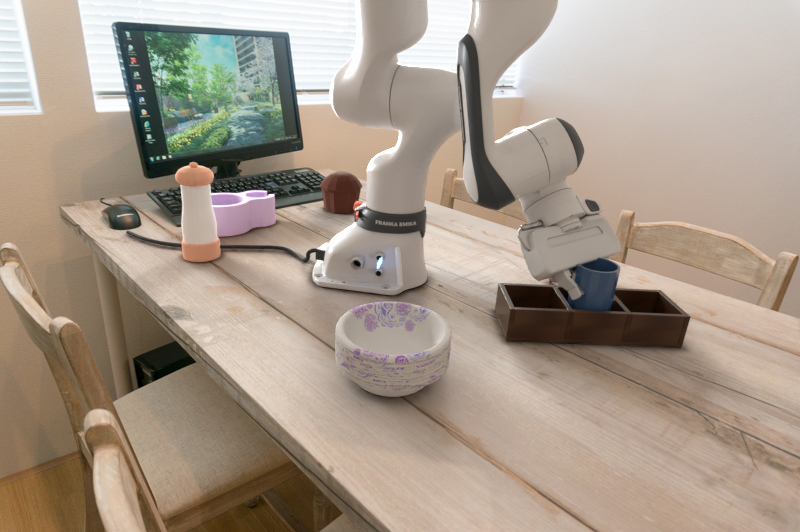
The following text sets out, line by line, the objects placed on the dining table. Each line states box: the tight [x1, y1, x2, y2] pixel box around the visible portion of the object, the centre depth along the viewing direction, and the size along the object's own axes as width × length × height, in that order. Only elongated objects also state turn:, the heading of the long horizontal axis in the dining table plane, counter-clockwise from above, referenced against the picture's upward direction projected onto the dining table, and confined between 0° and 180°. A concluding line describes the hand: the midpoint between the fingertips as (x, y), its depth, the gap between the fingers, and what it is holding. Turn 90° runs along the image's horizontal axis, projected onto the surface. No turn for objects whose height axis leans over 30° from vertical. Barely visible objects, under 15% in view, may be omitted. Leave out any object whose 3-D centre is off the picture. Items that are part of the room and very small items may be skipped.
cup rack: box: [494, 282, 691, 349], centre depth 87 cm, size 28×10×6 cm, turn 91°
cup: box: [567, 257, 621, 311], centre depth 86 cm, size 7×7×10 cm
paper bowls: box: [334, 300, 452, 398], centre depth 70 cm, size 15×15×8 cm
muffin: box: [319, 170, 363, 215], centre depth 144 cm, size 12×11×10 cm
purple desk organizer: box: [211, 189, 277, 238], centre depth 126 cm, size 20×12×7 cm, turn 132°
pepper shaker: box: [174, 161, 221, 263], centre depth 105 cm, size 7×7×19 cm
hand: (595, 291), depth 85 cm, fingers closed on cup, 7 cm apart
